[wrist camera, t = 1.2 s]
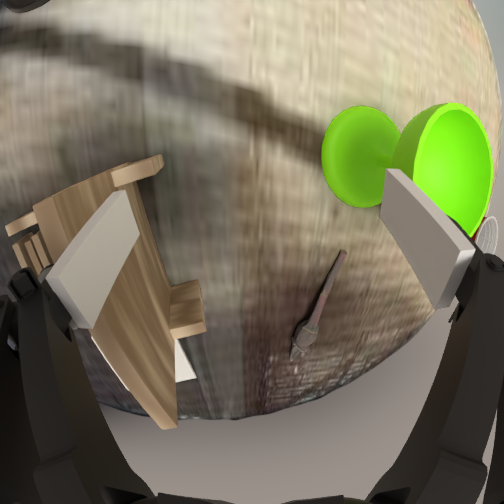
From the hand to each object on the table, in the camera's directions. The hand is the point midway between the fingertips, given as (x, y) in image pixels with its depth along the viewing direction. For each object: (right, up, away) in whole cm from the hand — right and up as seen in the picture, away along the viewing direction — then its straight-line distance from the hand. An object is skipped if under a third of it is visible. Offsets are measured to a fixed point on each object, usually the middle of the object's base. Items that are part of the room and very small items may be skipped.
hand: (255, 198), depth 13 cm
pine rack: (-21, -2, +21) cm, 30 cm away
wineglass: (+17, +12, +25) cm, 32 cm away
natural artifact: (+11, -12, +33) cm, 37 cm away
